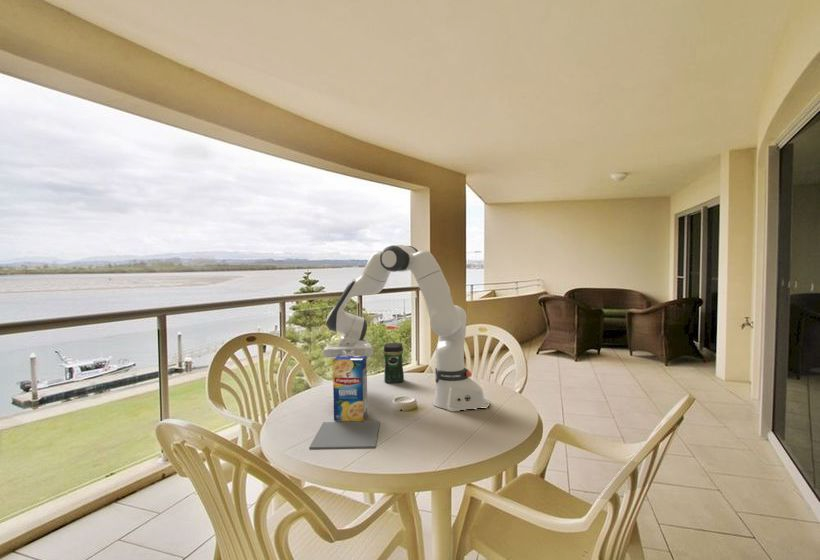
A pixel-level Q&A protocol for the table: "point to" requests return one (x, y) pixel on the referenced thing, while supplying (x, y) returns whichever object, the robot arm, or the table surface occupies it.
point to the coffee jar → (393, 363)
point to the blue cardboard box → (350, 388)
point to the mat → (346, 435)
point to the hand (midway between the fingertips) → (348, 355)
